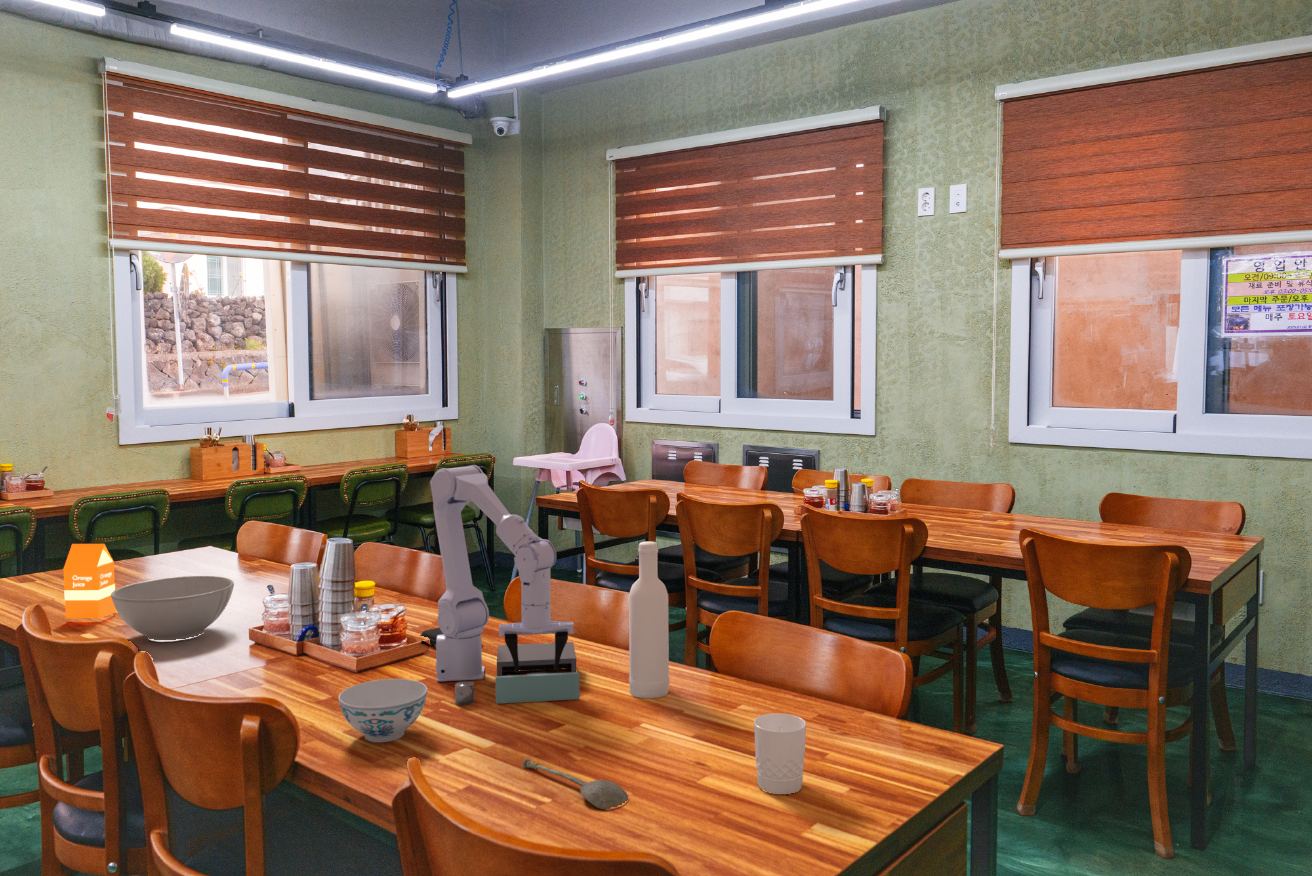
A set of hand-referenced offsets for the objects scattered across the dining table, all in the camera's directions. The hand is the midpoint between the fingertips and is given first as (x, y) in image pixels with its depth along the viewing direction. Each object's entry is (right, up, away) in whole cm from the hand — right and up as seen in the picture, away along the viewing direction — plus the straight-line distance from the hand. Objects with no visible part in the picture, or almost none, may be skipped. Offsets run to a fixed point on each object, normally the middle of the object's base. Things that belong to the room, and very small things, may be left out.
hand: (536, 670), depth 189 cm
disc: (0, -4, 0) cm, 4 cm away
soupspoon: (+11, -8, -42) cm, 44 cm away
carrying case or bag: (-25, -3, +36) cm, 44 cm away
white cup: (+43, -8, -43) cm, 61 cm away
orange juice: (-125, -2, +61) cm, 139 cm away
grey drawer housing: (-1, -4, +10) cm, 11 cm away
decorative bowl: (-94, -3, +45) cm, 104 cm away
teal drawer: (0, -4, +1) cm, 5 cm away
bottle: (+22, -5, 0) cm, 23 cm away
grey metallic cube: (-13, -5, -5) cm, 15 cm away
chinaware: (-24, -7, -21) cm, 33 cm away
